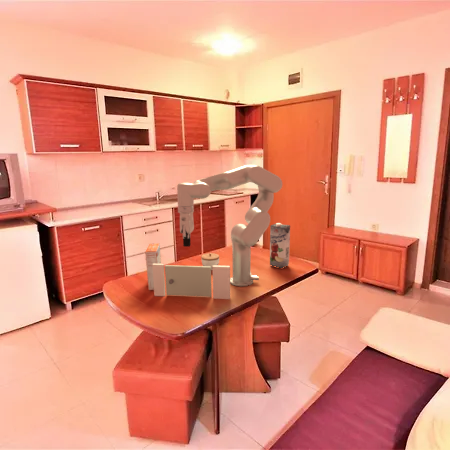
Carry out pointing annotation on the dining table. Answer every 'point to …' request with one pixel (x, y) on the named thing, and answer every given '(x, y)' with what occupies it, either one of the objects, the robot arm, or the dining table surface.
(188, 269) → the door
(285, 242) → the juice carton
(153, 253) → the cracker box
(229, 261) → the dining table surface
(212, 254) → the lidded jar
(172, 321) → the dining table surface
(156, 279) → the door frame
